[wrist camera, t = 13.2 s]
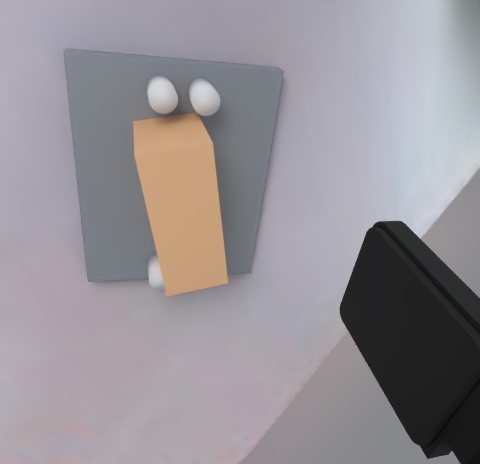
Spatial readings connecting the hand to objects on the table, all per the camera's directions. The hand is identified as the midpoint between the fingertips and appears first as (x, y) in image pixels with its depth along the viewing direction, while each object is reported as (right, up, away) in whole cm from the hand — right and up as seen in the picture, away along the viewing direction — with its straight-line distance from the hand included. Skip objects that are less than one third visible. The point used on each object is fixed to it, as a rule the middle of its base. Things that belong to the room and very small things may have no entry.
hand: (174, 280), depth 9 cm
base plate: (-4, +6, +26) cm, 27 cm away
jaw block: (-4, +5, +25) cm, 26 cm away
